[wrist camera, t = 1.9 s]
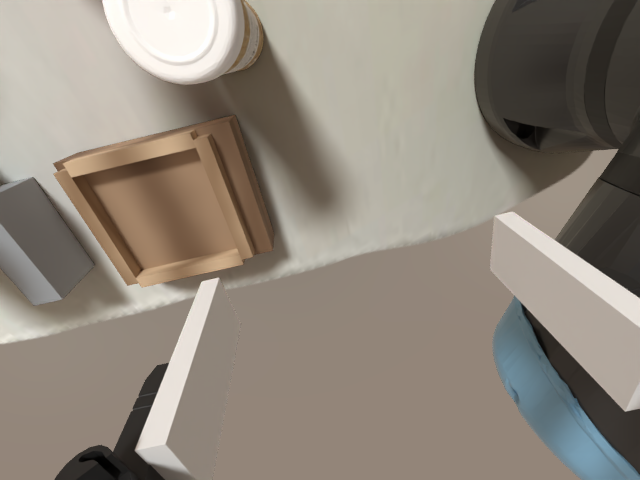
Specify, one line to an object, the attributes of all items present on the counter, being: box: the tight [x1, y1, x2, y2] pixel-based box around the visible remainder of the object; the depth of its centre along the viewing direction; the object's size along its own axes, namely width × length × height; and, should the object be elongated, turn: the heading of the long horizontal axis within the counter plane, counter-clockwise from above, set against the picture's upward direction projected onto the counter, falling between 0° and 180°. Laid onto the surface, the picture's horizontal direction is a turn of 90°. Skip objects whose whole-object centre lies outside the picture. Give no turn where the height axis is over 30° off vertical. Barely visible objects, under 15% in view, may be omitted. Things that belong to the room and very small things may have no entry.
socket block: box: [53, 115, 274, 287], centre depth 26 cm, size 13×11×4 cm
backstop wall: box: [0, 177, 95, 306], centre depth 26 cm, size 2×9×5 cm, turn 12°
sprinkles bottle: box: [102, 0, 264, 85], centre depth 17 cm, size 5×5×14 cm
